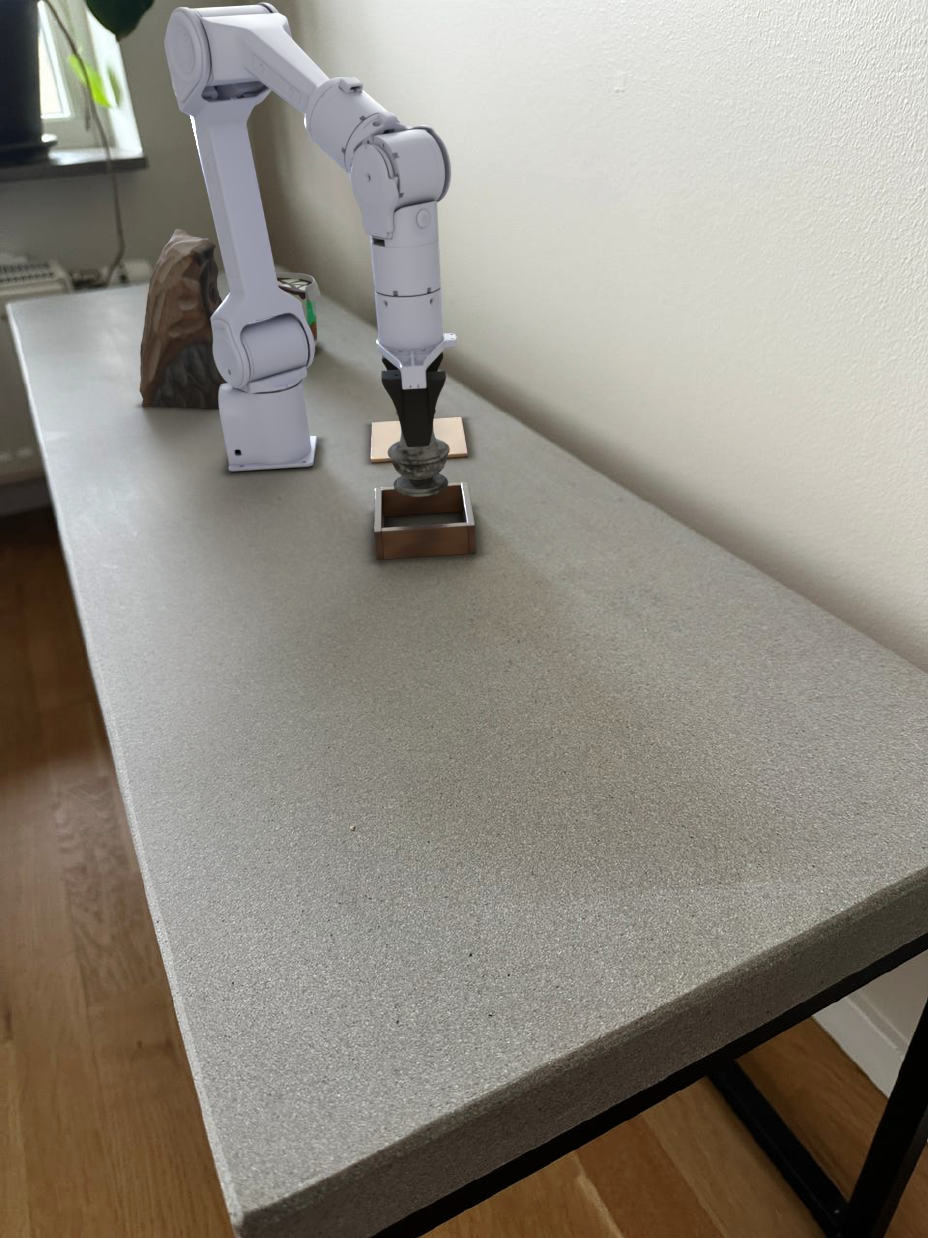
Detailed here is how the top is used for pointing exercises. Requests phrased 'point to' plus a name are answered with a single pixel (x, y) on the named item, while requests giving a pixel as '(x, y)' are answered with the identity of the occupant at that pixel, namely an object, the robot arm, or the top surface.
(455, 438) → the coaster
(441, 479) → the salt shaker
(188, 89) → the robot arm
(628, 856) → the top surface
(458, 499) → the holder
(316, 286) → the food container
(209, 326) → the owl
